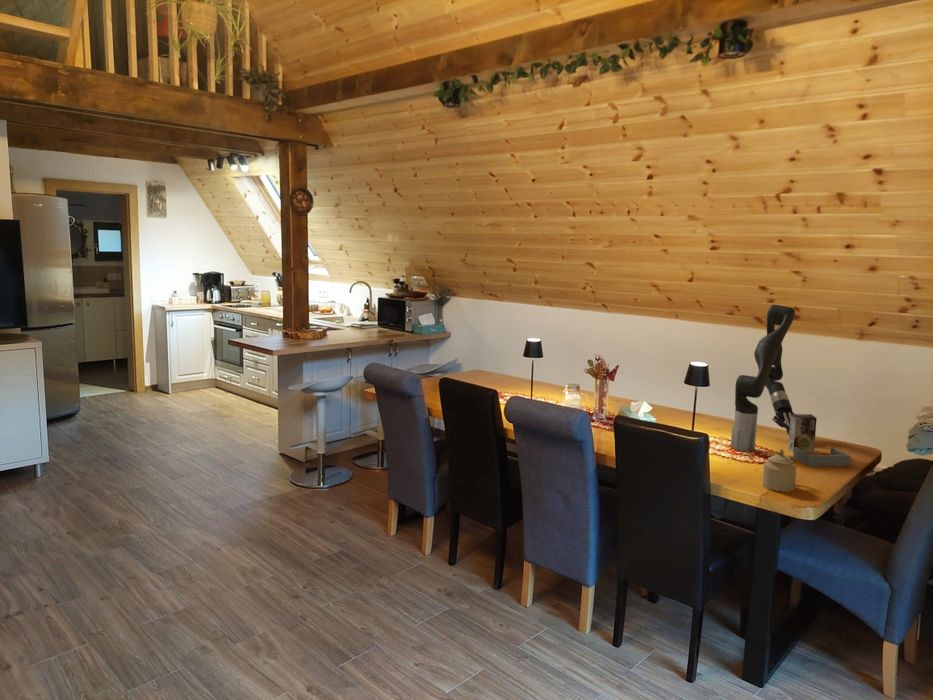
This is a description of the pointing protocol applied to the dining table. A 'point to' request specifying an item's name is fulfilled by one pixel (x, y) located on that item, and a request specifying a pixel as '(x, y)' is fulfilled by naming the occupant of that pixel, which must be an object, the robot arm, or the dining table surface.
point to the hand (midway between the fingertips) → (791, 434)
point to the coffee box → (802, 432)
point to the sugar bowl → (779, 473)
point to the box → (823, 458)
